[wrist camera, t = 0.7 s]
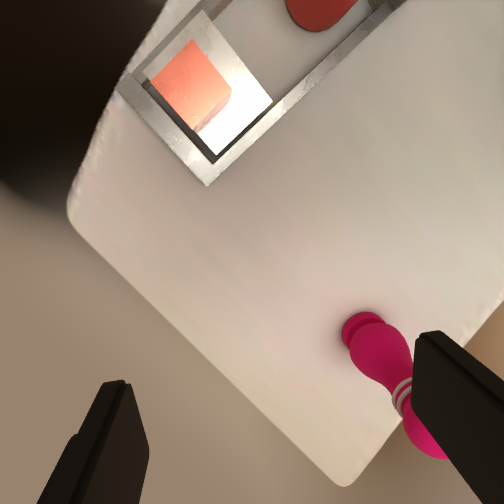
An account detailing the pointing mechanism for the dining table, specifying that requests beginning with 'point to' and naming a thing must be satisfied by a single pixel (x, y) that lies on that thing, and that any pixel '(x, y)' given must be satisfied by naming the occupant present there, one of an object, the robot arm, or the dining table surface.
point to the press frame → (159, 120)
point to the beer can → (318, 12)
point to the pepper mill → (388, 370)
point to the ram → (207, 83)
